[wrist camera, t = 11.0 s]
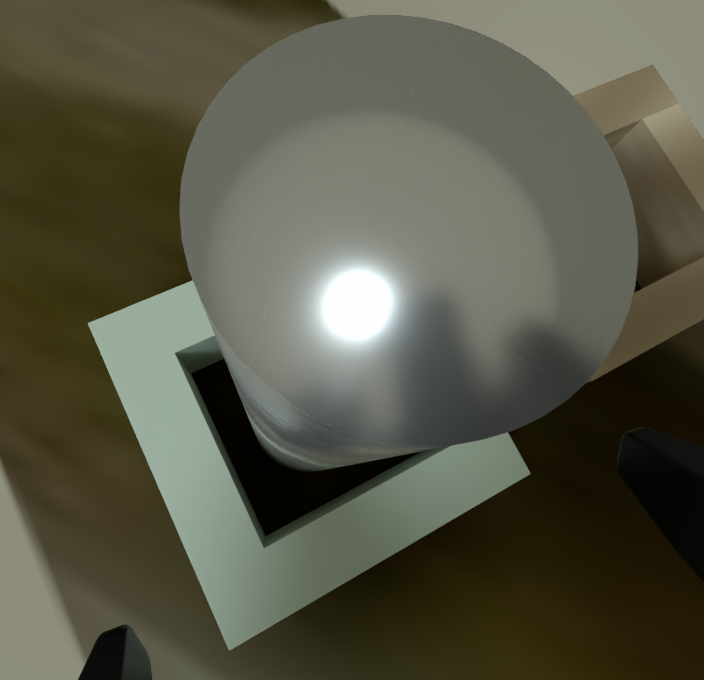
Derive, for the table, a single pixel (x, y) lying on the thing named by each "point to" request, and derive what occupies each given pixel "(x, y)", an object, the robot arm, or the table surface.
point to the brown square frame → (655, 206)
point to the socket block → (230, 497)
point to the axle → (403, 240)
